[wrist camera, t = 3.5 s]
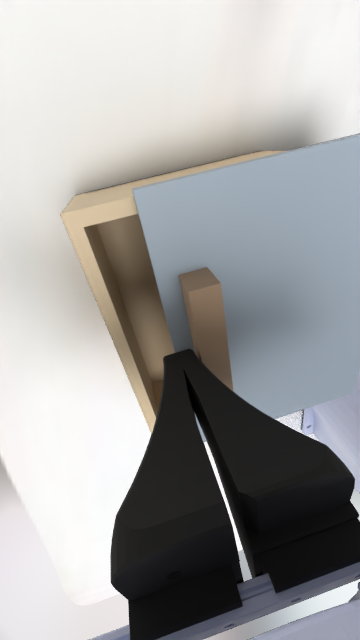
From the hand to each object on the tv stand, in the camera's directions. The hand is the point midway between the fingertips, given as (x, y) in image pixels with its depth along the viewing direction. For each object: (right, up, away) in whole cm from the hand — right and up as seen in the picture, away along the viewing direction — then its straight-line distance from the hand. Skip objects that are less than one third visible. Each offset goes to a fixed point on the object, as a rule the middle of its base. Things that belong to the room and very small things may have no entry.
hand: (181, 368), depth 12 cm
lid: (+5, +2, +2) cm, 5 cm away
